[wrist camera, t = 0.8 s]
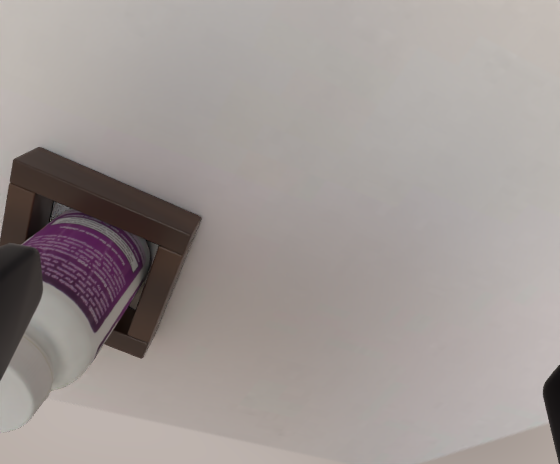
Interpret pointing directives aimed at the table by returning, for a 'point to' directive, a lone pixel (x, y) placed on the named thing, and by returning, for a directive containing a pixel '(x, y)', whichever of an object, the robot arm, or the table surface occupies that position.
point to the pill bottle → (71, 308)
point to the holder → (110, 209)
